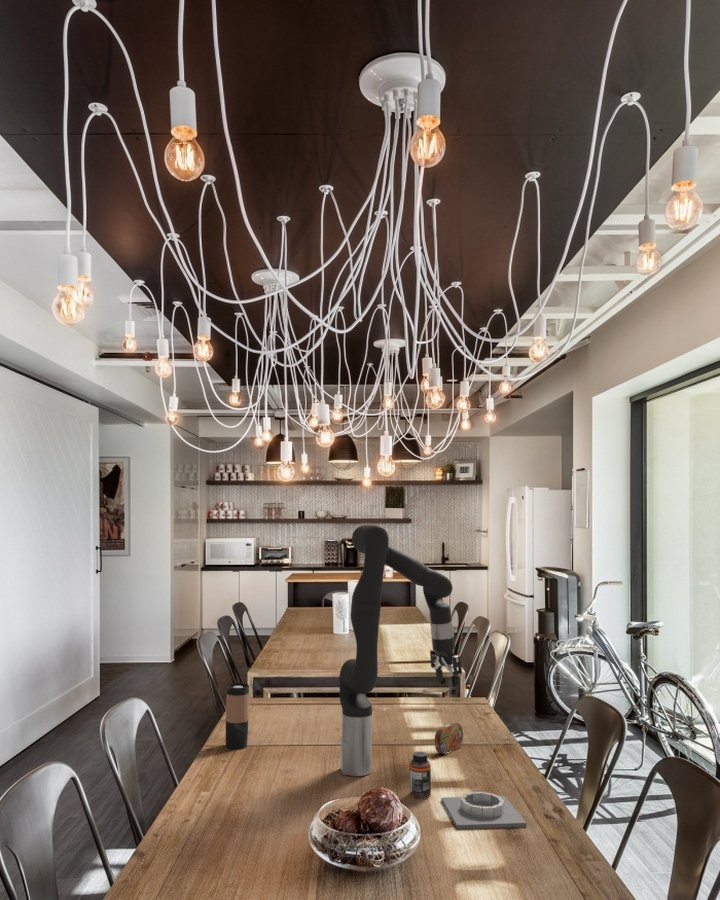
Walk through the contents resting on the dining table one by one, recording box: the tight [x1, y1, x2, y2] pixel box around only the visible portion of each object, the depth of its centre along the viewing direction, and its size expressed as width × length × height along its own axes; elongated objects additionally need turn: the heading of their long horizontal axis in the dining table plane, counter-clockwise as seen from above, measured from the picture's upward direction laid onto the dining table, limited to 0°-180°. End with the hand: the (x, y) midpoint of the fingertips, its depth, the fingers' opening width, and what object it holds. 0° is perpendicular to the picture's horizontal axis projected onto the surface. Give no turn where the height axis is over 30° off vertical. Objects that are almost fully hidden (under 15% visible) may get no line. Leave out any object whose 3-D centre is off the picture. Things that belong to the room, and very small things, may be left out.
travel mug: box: [225, 682, 250, 750], centre depth 247 cm, size 8×8×20 cm
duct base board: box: [440, 795, 528, 830], centre depth 193 cm, size 18×18×1 cm
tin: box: [434, 722, 464, 755], centre depth 245 cm, size 15×3×8 cm, turn 143°
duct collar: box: [460, 791, 504, 818], centre depth 193 cm, size 11×11×2 cm
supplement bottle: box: [409, 751, 432, 799], centre depth 206 cm, size 6×6×11 cm
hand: (447, 683), depth 244 cm, fingers open, 8 cm apart
